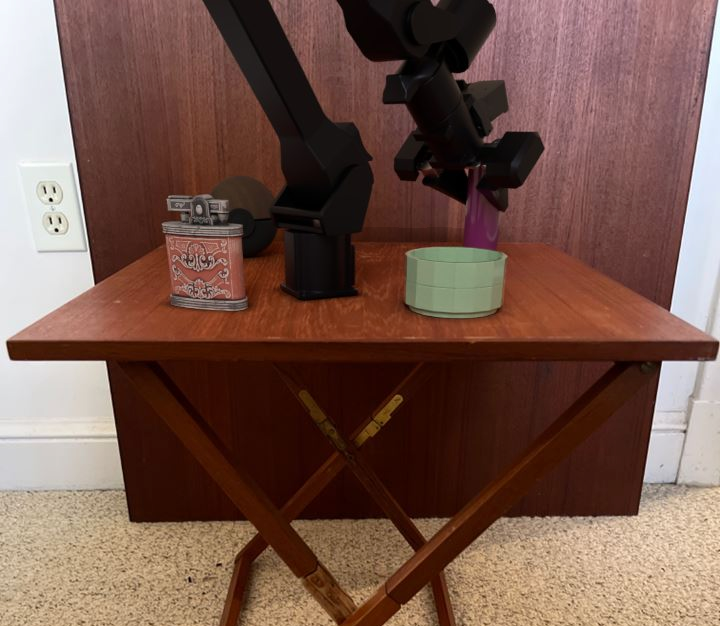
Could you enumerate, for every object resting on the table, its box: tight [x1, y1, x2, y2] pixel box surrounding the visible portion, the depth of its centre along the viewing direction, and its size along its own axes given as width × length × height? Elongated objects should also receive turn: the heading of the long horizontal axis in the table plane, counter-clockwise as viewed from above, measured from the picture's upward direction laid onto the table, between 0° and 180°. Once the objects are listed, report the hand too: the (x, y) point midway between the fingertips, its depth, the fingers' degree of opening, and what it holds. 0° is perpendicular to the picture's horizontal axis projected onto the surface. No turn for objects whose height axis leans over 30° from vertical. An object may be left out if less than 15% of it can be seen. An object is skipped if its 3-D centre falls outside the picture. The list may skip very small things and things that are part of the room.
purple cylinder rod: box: [462, 165, 502, 251], centre depth 88 cm, size 4×4×12 cm
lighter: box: [161, 193, 249, 312], centre depth 66 cm, size 8×3×10 cm, turn 71°
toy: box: [209, 174, 279, 258], centre depth 92 cm, size 9×10×10 cm
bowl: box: [403, 246, 509, 319], centre depth 67 cm, size 9×9×5 cm
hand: (490, 207), depth 88 cm, fingers closed on purple cylinder rod, 4 cm apart
